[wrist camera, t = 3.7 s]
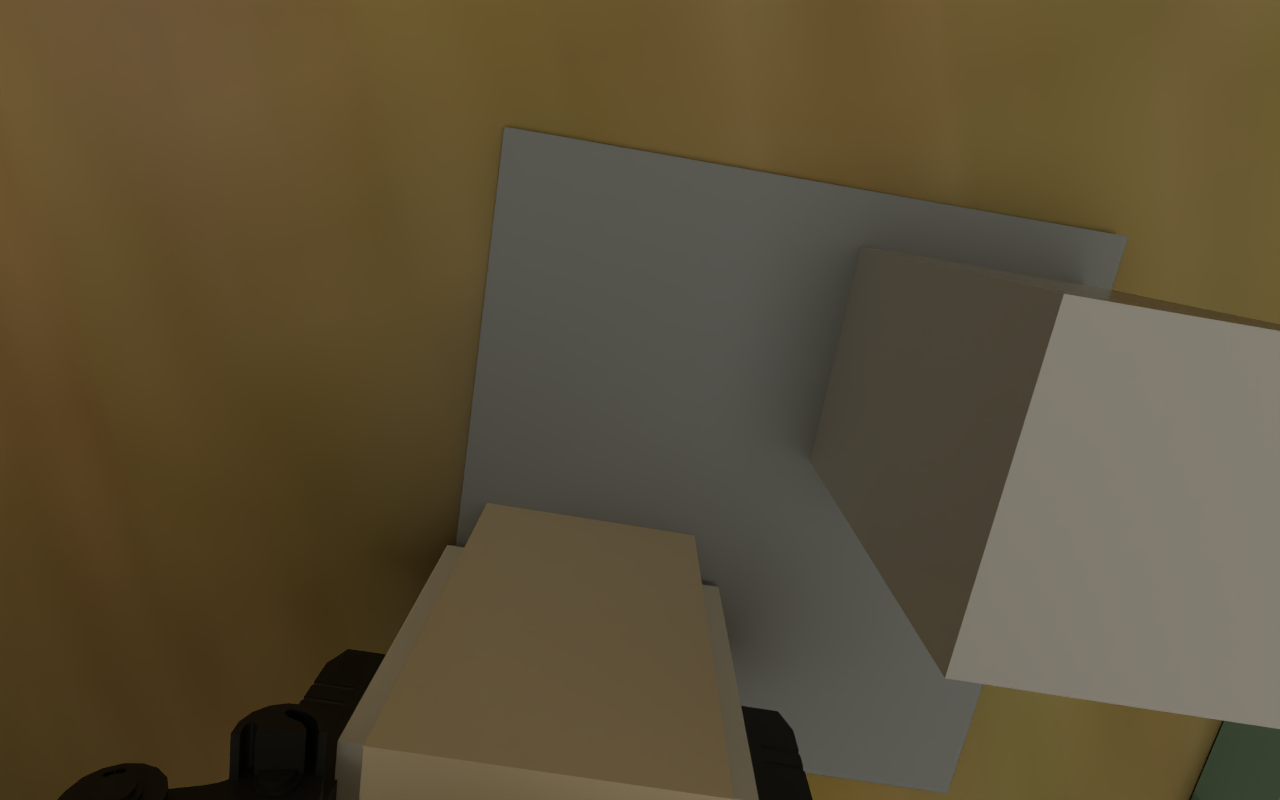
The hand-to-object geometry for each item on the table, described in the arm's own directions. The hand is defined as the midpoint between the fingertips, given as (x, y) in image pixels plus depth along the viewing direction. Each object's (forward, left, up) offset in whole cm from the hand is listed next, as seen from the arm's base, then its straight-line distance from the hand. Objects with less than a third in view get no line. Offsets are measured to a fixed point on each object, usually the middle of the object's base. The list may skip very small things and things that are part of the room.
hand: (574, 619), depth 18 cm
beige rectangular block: (0, 0, 0) cm, 0 cm away
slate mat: (+4, +4, -1) cm, 5 cm away
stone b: (+7, +7, 0) cm, 10 cm away
